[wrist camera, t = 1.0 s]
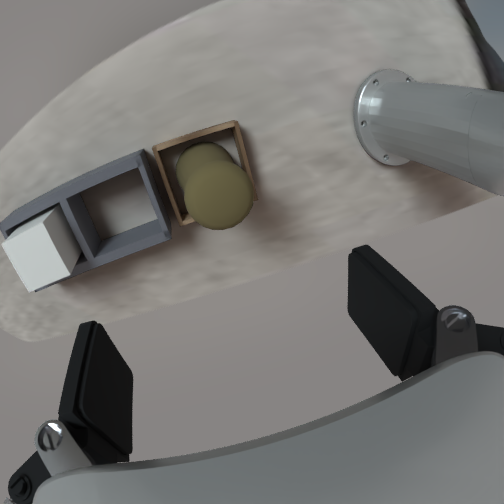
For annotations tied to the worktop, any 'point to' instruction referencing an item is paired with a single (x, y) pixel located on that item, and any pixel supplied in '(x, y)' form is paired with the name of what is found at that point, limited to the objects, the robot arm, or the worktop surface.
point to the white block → (43, 248)
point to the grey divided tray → (82, 224)
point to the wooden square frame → (233, 124)
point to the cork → (214, 186)
